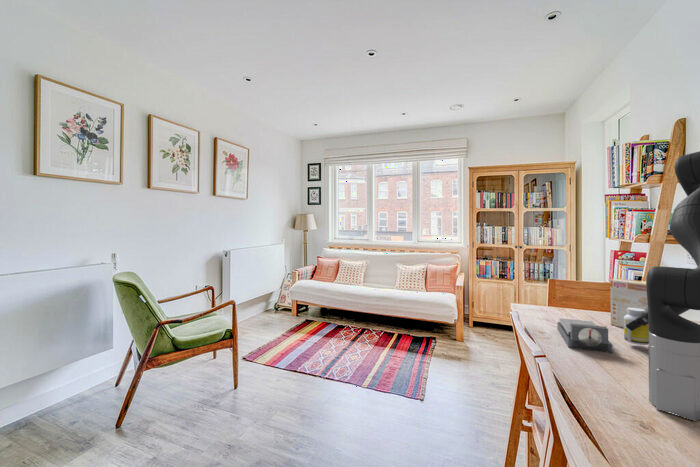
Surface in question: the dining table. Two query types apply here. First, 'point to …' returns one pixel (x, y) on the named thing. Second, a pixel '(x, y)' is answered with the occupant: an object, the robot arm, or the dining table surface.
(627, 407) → the dining table surface
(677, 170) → the robot arm
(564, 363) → the dining table surface
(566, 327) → the pan
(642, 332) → the pill bottle
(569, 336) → the kitchen scale
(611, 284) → the coffeecake box
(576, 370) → the dining table surface
